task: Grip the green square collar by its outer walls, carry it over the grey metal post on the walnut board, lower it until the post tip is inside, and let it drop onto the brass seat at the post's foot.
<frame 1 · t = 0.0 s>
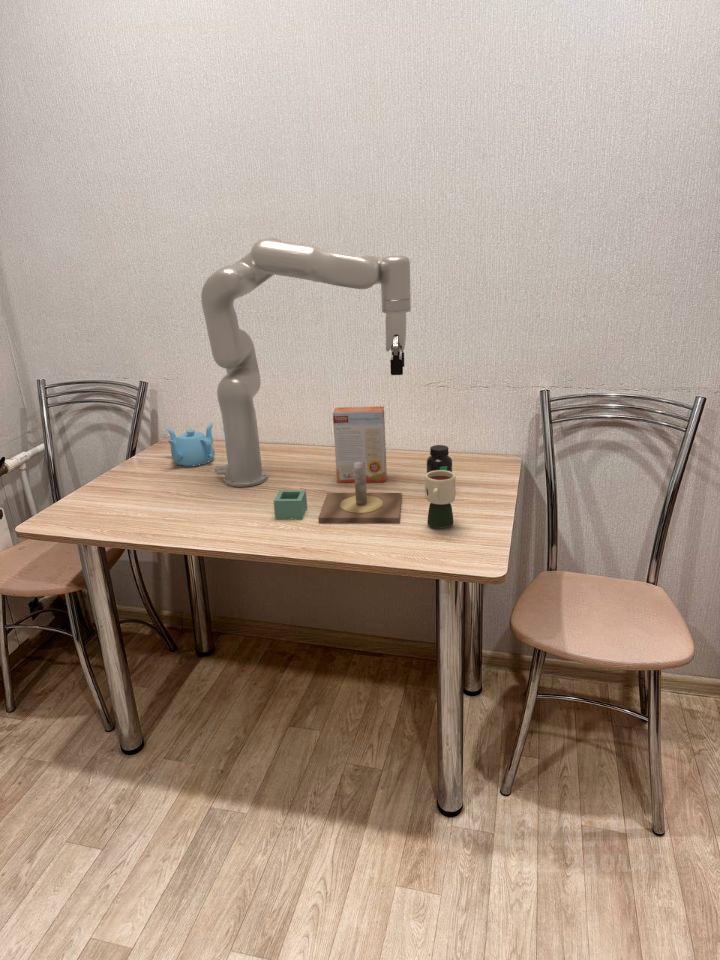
hand: (397, 370, 186), 31 cm above the table, tool pointing down, fingers open, 9 cm apart
character mug: (440, 525, 168), on the table
supplement bottle: (439, 489, 189), on the table
cracker box: (362, 479, 199), on the table
collar: (291, 513, 178), on the table
post board: (361, 510, 178), on the table
teapot: (192, 461, 220), on the table
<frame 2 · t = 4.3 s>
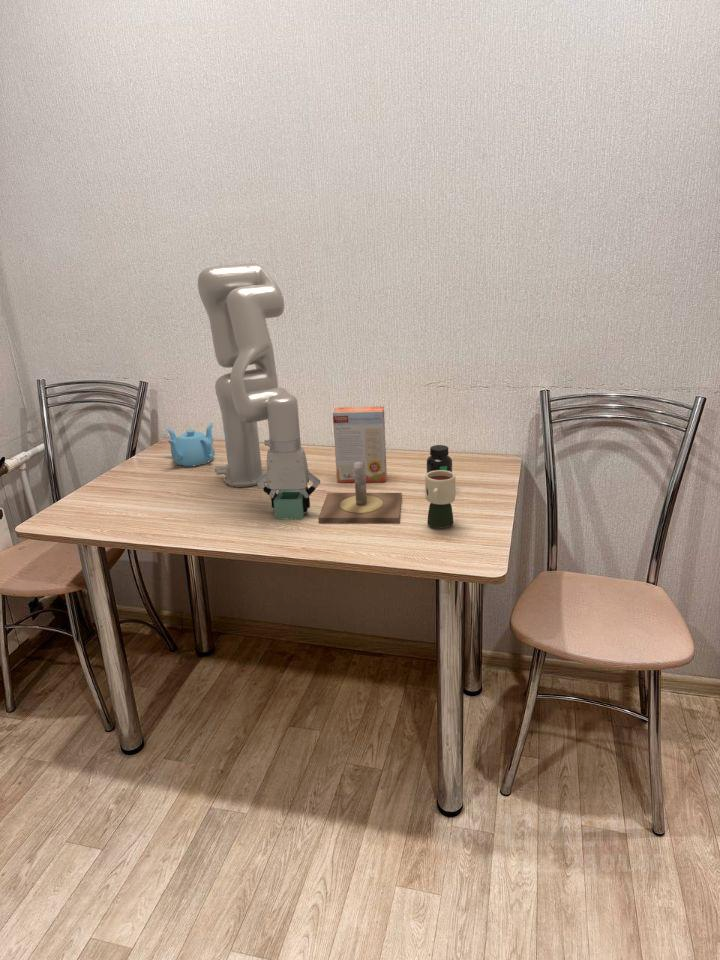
hand: (291, 509, 178), 1 cm above the table, tool pointing down, fingers closed on collar, 7 cm apart
collar: (291, 513, 178), on the table, touching gripper
everything else where it was.
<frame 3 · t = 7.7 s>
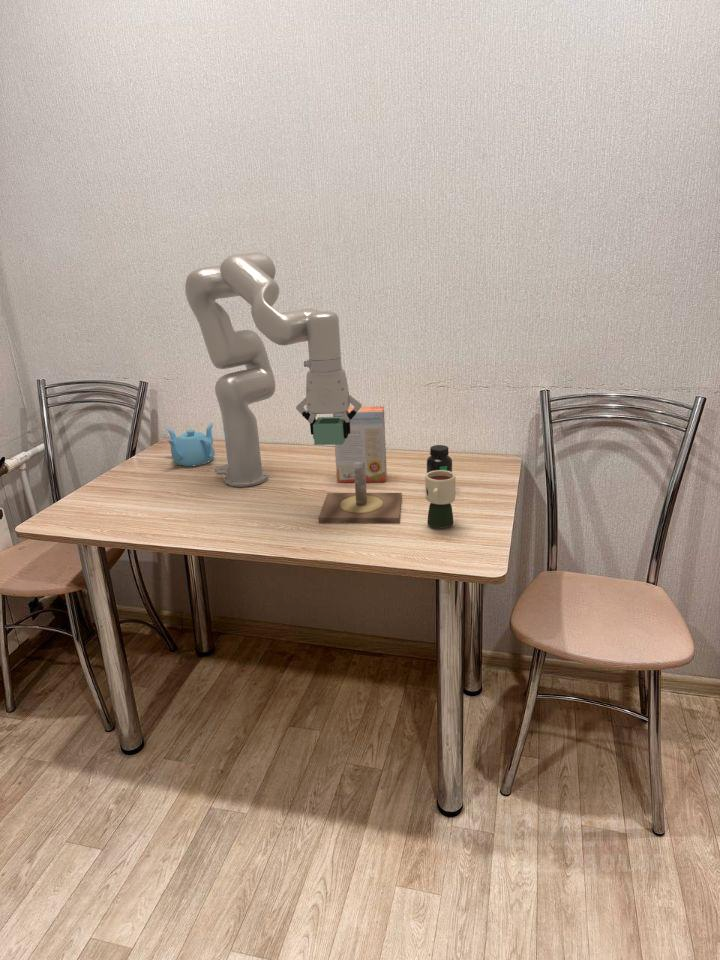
hand: (330, 436, 170), 20 cm above the table, tool pointing down, fingers closed on collar, 7 cm apart
collar: (331, 440, 171), point 19 cm above the table, touching gripper
everything else where it was.
when the fingers open (11 cm above the table, at t = 11.4 s): collar drops 8 cm, resting on post board.
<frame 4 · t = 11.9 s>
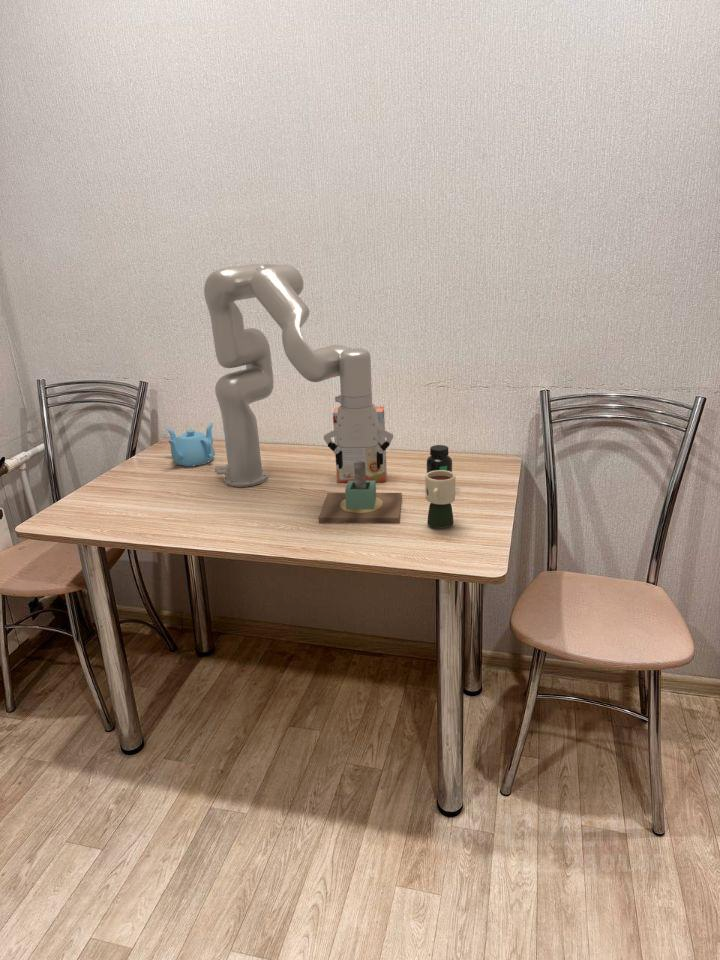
hand: (359, 467, 174), 12 cm above the table, tool pointing down, fingers open, 9 cm apart
collar: (361, 503, 177), point 2 cm above the table, touching post board
everything else where it was.
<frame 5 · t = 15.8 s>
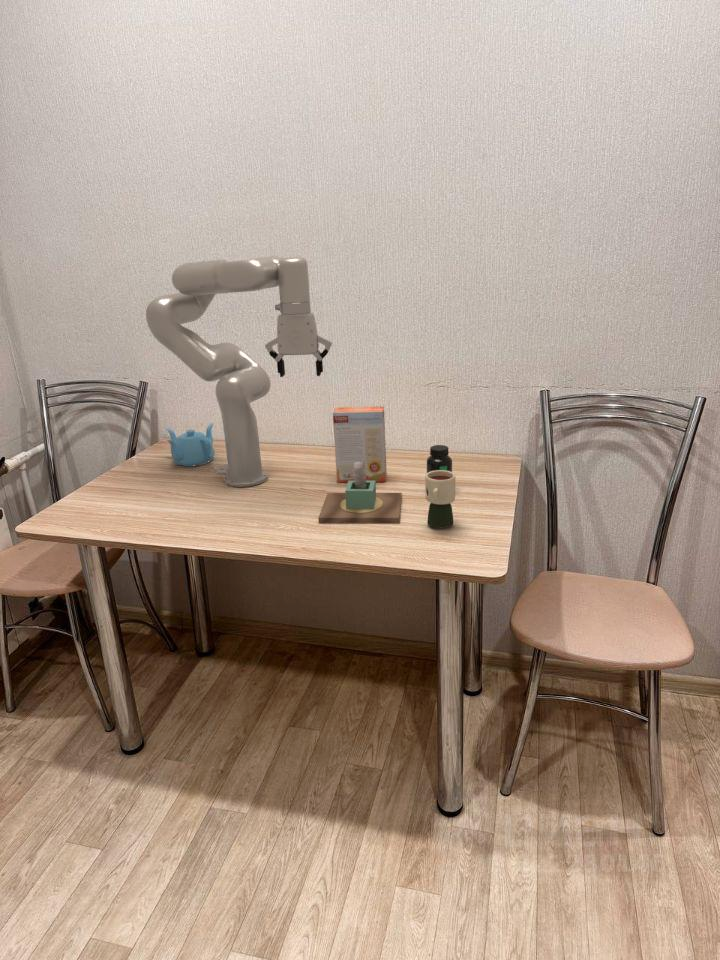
hand: (300, 375, 181), 32 cm above the table, tool pointing down, fingers open, 9 cm apart
nothing on the table moved.
at the end: collar 0.1 cm off-centre on the post board, point 1.8 cm above the post board's base; collar tilted 0°; the gripper is holding nothing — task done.
